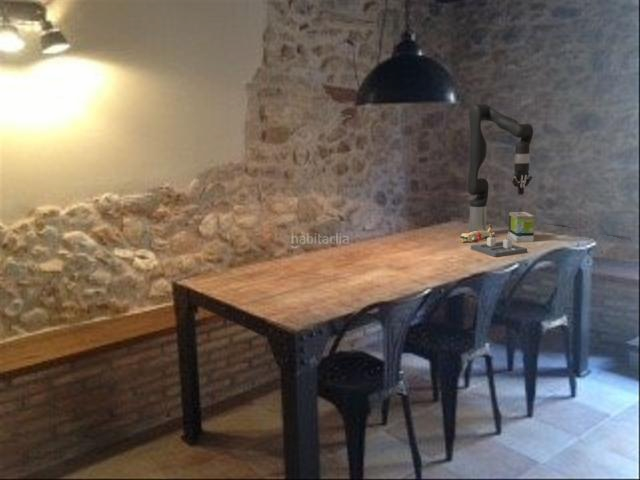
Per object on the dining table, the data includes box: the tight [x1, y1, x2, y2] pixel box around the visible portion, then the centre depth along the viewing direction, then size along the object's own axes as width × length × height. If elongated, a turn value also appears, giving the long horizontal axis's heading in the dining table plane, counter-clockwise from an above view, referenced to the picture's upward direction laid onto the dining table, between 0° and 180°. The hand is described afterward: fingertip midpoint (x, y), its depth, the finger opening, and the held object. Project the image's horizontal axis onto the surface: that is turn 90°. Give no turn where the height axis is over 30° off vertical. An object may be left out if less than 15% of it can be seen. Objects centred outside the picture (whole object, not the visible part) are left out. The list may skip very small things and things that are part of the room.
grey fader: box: [502, 237, 513, 248], centre depth 298 cm, size 3×3×5 cm
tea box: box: [507, 211, 536, 243], centre depth 325 cm, size 15×10×15 cm, turn 179°
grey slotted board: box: [470, 241, 528, 258], centre depth 302 cm, size 20×20×2 cm
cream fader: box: [486, 236, 496, 246], centre depth 304 cm, size 3×3×5 cm
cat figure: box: [460, 223, 496, 243], centre depth 329 cm, size 10×9×25 cm
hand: (520, 194), depth 311 cm, fingers closed
